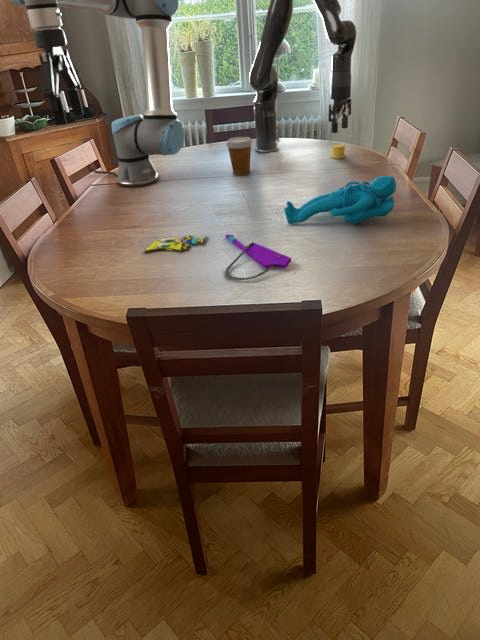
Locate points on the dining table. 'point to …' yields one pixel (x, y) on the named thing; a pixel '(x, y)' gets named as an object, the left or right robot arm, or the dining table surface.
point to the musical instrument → (259, 257)
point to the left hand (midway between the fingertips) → (70, 119)
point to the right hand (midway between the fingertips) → (339, 130)
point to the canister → (338, 151)
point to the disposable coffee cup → (240, 154)
